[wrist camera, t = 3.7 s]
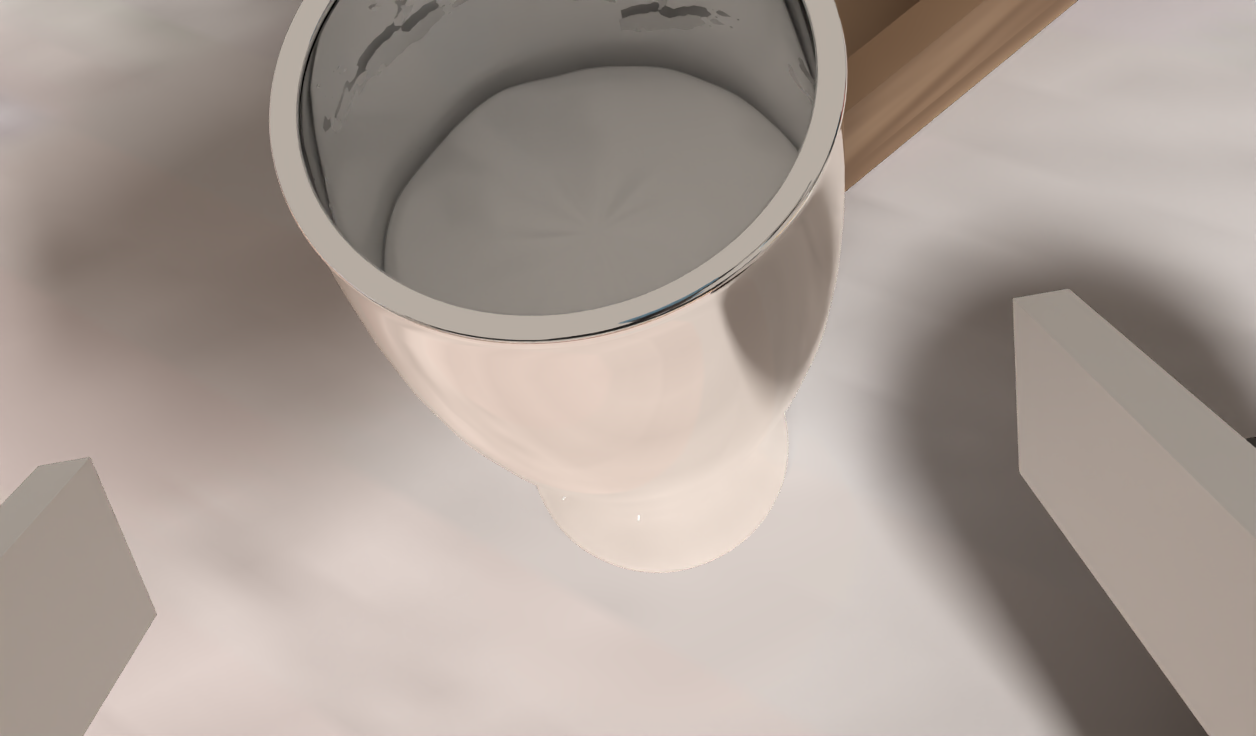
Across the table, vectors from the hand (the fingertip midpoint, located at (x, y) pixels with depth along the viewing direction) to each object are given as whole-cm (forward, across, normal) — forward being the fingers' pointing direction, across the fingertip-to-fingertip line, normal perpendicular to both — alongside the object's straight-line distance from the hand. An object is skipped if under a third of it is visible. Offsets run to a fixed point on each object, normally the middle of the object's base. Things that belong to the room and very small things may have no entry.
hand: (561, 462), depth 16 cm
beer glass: (+10, +1, -5) cm, 11 cm away
